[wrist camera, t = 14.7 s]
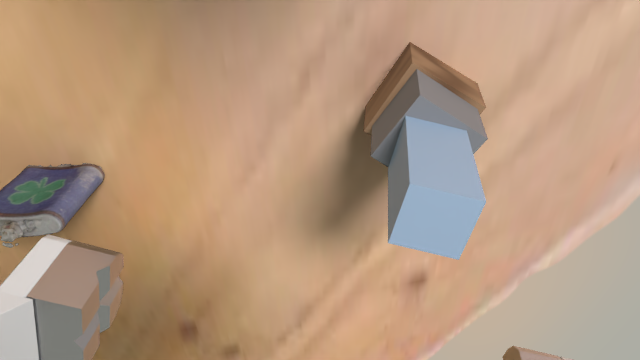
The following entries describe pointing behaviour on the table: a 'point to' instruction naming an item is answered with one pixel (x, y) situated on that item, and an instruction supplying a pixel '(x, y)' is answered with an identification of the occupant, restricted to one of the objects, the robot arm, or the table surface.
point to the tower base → (430, 67)
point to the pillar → (433, 189)
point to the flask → (45, 199)
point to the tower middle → (424, 115)
